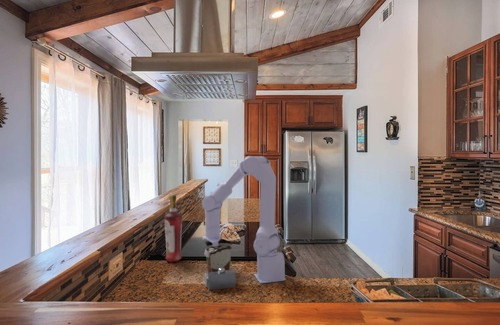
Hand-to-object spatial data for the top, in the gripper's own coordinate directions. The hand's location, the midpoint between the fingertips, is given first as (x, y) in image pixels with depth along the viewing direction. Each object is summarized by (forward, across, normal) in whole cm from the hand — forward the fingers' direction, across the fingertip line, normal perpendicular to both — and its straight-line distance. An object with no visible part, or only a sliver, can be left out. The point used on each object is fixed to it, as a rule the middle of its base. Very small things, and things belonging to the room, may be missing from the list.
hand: (213, 259), depth 116 cm
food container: (+3, +6, 0) cm, 7 cm away
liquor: (+3, -13, -15) cm, 20 cm away
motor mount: (+3, +17, 0) cm, 17 cm away
